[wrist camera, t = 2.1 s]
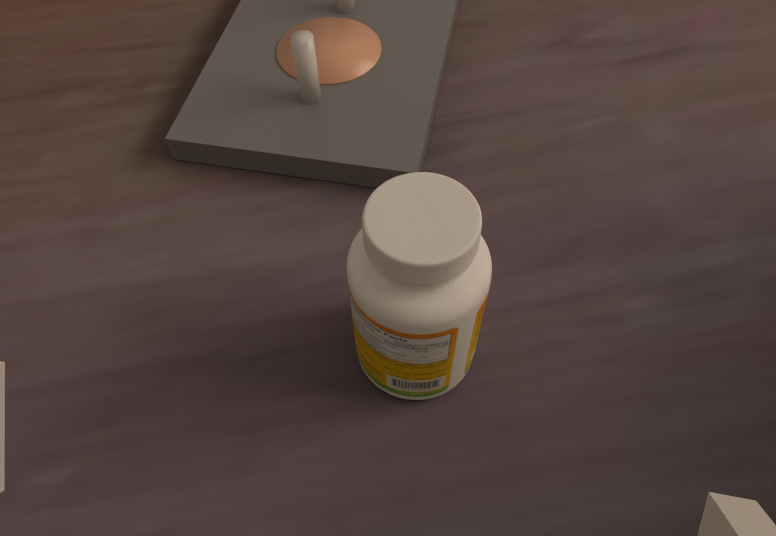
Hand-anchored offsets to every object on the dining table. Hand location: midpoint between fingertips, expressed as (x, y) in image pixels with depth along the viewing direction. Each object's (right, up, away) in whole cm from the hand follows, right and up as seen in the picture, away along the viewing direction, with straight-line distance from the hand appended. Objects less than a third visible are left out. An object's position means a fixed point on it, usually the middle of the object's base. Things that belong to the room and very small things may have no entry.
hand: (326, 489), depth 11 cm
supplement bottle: (+2, 0, +17) cm, 18 cm away
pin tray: (-2, +17, +28) cm, 33 cm away
